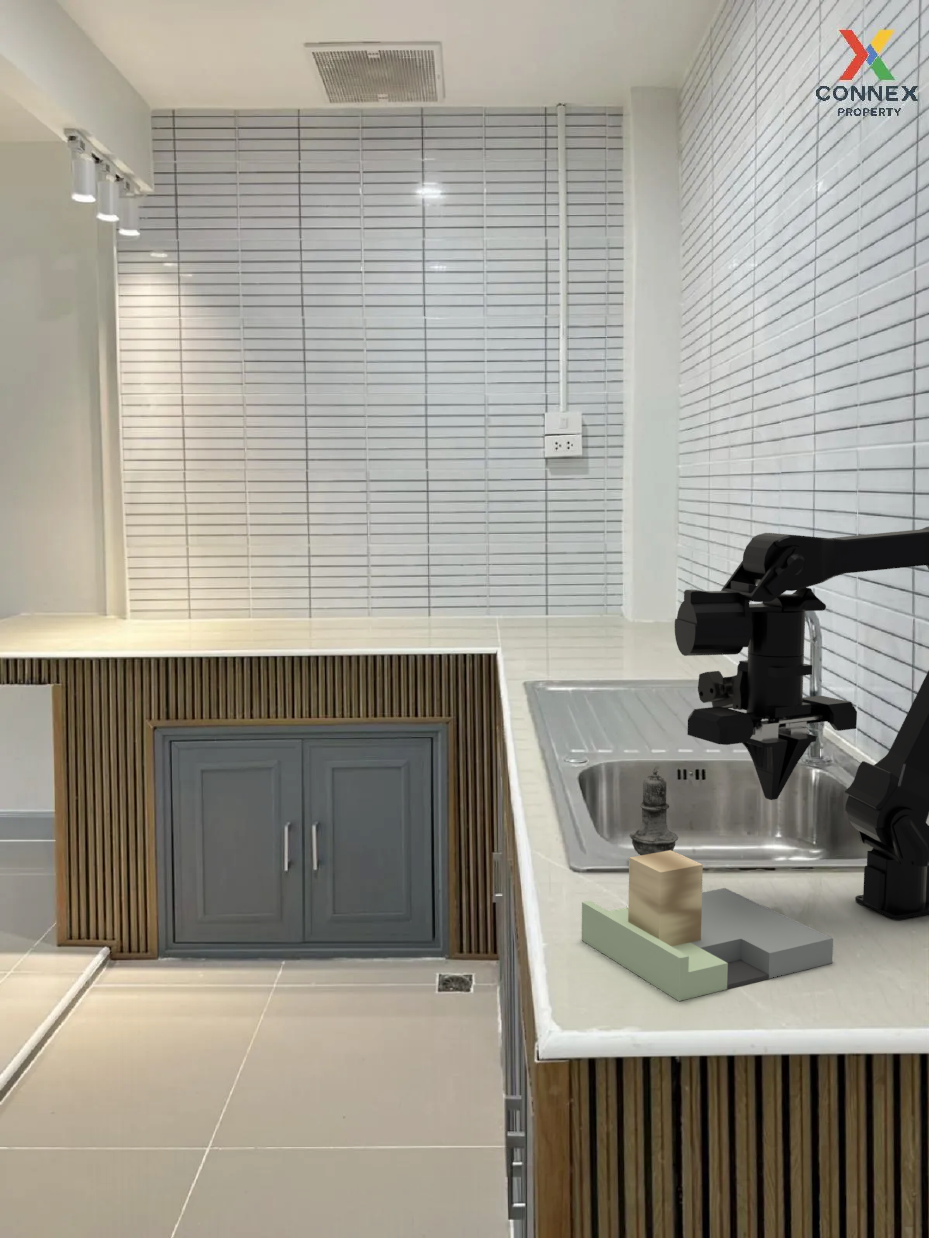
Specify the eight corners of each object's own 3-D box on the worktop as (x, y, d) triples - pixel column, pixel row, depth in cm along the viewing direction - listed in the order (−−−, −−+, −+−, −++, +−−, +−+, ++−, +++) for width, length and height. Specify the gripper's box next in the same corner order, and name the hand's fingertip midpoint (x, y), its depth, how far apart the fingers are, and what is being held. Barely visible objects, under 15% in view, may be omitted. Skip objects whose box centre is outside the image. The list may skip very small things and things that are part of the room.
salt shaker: (644, 874, 139) (646, 775, 138) (620, 859, 145) (621, 765, 143) (687, 868, 141) (689, 771, 140) (661, 854, 147) (663, 760, 145)
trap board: (724, 910, 127) (725, 874, 127) (832, 962, 113) (833, 923, 113) (581, 939, 119) (581, 901, 118) (679, 1000, 105) (679, 958, 104)
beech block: (669, 922, 117) (670, 850, 116) (700, 939, 112) (702, 864, 112) (628, 931, 115) (629, 857, 114) (658, 949, 110) (660, 872, 109)
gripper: (789, 639, 134) (784, 772, 135) (656, 649, 125) (653, 791, 127) (863, 651, 124) (857, 795, 125) (725, 663, 115) (720, 817, 117)
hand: (771, 798), depth 124 cm, fingers closed
